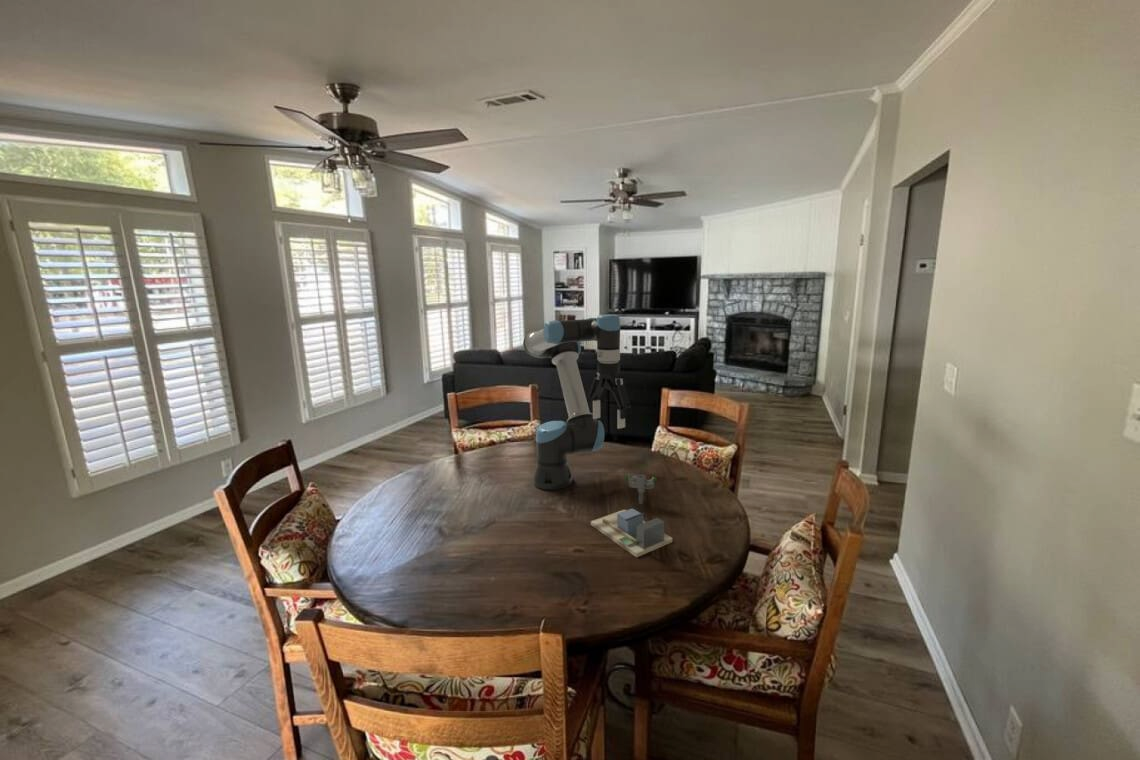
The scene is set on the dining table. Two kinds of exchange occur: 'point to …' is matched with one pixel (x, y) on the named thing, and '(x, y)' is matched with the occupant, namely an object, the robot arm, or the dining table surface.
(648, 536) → the dark grey textured box
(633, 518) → the carriage
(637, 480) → the mechanical component
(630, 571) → the dining table surface
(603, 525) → the board
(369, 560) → the dining table surface
